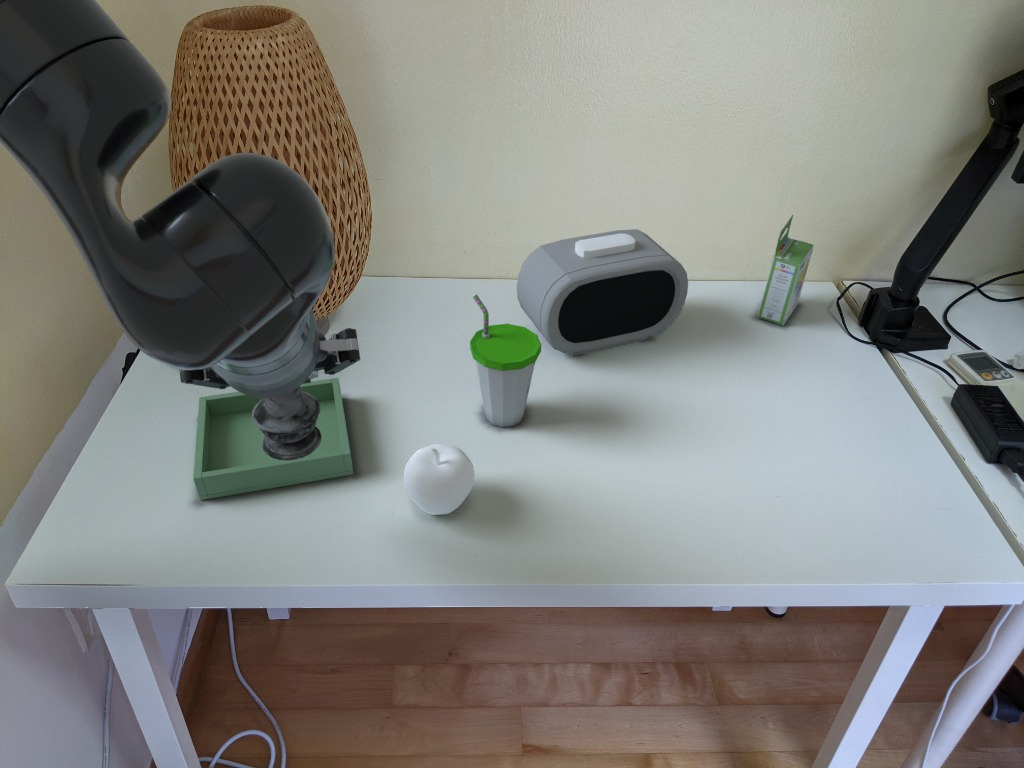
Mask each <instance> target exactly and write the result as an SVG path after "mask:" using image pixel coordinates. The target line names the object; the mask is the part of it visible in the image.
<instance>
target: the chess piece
mask: <svg viewBox="0 0 1024 768" xmlns="http://www.w3.org/2000/svg"><path fill="white" fill-rule="evenodd" d="M319 413H320V403H319V401H318V399H317V398H316V397H315V396H313V395H311V394H309V393H307V392H304V391H301V389H300V386H299V387H298V388H296V389H295V390H293V391H291V392H289V393H287V394H284V395H281V396H278V397H271V398H263V399H262V400H260V401H259V402H258V403H257V404H256V406H255V407H254V409H253V411H252V419H253V422H254V423H255V424H256V425H257V427H259V429H260V430H261V431H262V433H263V434H264V435H265V436H264V438H263V440H262V448H263V451H264V452H265V453H266V454H267V455H268V456H270V457H272V458H274V459H278V460H286V461H287V460H296V459H299V458H303V457H305V456H307V455H309V454H311V453H312V452H314V451H315V450H316V449H317V448H318V446H319V445H320V443H321V439H322V435H321V432H320V430H319V429H318V428H317V427H316V426H315V425H316V422H317V419H318V415H319Z"/></svg>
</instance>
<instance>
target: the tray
mask: <svg viewBox="0 0 1024 768" xmlns="http://www.w3.org/2000/svg"><path fill="white" fill-rule="evenodd" d="M300 389H301V391H304V392H307V393H309V394H311V395H313V396H315V397H316V398H317V399H318V401H319V403H320V413H319V415H318V419H317V422H316V425H315V426H316V427H317V428H318V429H319V430H320V432H321V435H322V439H321V443H320V445H319V446H318V448H317V449H316V450H315V451H314V452H312V453H311V454H309V455H307V456H305V457H303V458H299V459H296V460H287V461H286V460H278V459H274V458H272V457H270V456H268V455H267V454H266V453H265V452H264V451H263V448H262V440H263V438H264V436H265V435H264V434H263V433H262V431H261V430H260V429H259V427H257V425H256V424H255V423H254V422H253V419H252V411H253V409H254V407H255V406H256V404H257V403H258V402H259V401H260V400H262V399H263V398H259V397H253V396H249V395H246V394H243V393H241V392H239V391H235V392H234V391H233V392H225V393H219V394H212V395H205V396H199V398H198V410H197V423H196V437H195V448H194V449H195V450H194V465H193V478H192V480H193V483H194V485H195V489H196V492H197V496H198V498H199V501H204V500H211V499H215V498H216V499H217V498H223V497H229V496H233V495H240V494H247V493H253V492H258V491H264V490H269V489H270V490H271V489H276V488H281V487H282V488H283V487H288V486H294V485H300V484H305V483H306V484H307V483H311V482H318V481H324V480H330V479H336V478H341V477H348V476H352V475H353V476H354V470H353V469H354V468H353V467H354V466H353V460H352V454H351V453H352V452H351V448H350V447H351V445H350V441H349V434H348V429H347V422H346V415H345V410H344V404H343V403H344V401H343V397H342V390H341V384H340V378H339V377H334V378H327V379H318V380H311V383H305V384H302V385H301V386H300Z"/></svg>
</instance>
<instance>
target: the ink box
mask: <svg viewBox="0 0 1024 768" xmlns="http://www.w3.org/2000/svg"><path fill="white" fill-rule="evenodd" d="M793 219H794V214H791V216H790V217H789V219H788V221H787V222H786V223H785V224H784V226H783V227H782V229H781V230H780V232H779V234H778V238H777V242H776V246H775V250H774V252H773V253H774V254H773V257H772V259H771V263H770V269H769V273H768V275H767V280H766V283H765V287H764V291H763V295H762V297H761V301H760V305H759V310H758V313H757V318H758V319H761V320H763V321H764V320H765V321H767V322H771V323H773V324H775V325H779V326H784V325H785V324H786V323H787V321H788V320H789V318H790V316H792V314H793V313H794V311H795V309H796V308H797V306H798V304H799V301H800V297H801V294H802V290H803V286H804V283H805V279H806V275H807V273H808V269H809V265H810V261H811V258H812V254H813V251H814V246H815V244H812V243H809V242H806V241H802V240H798V239H794V238H791V237H789V233H790V229H791V225H792V221H793Z"/></svg>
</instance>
